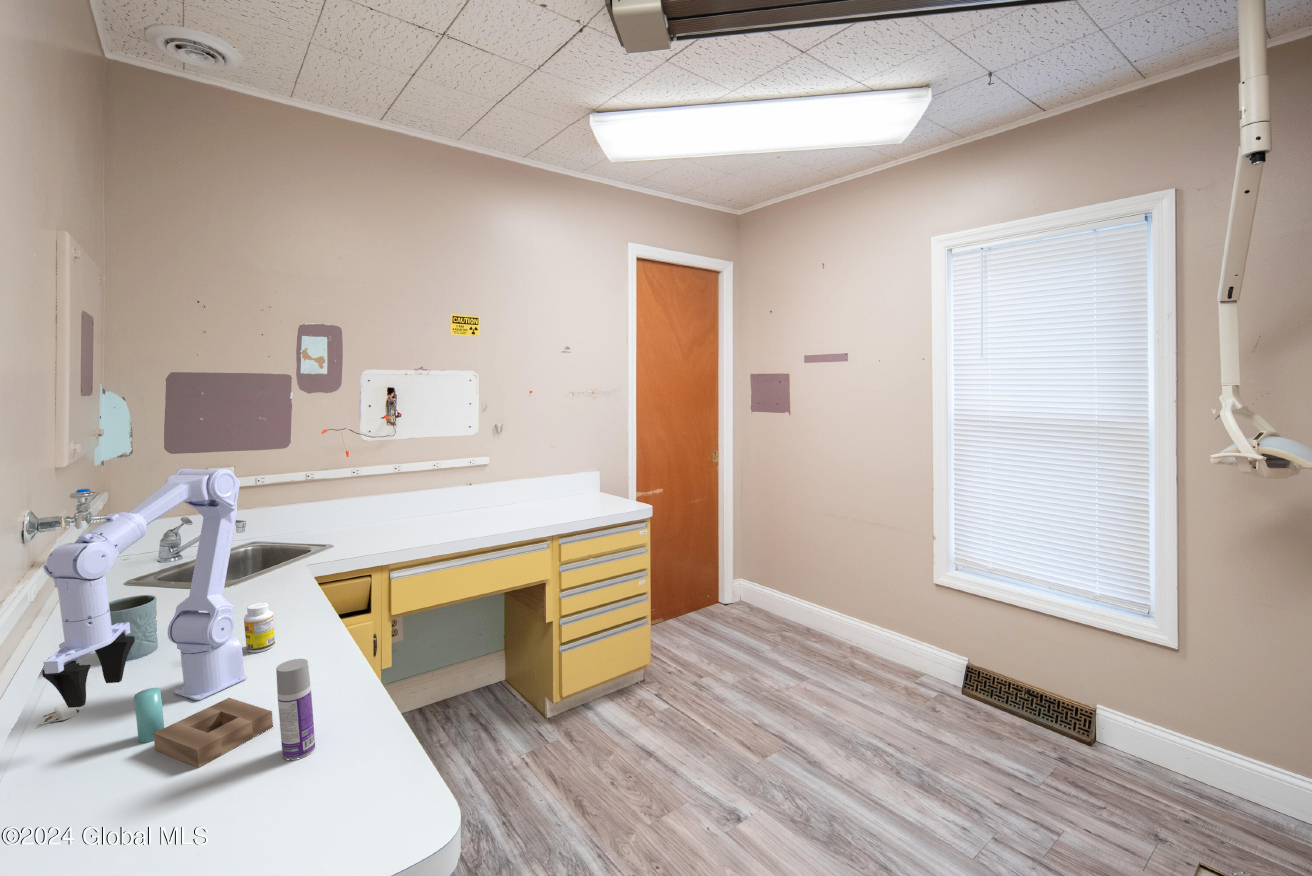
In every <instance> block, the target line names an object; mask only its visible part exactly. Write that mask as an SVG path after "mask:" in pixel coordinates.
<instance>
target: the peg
mask: <svg viewBox="0 0 1312 876" xmlns="http://www.w3.org/2000/svg"><path fill="white" fill-rule="evenodd" d="M133 701H134V710H135V711H134V712H135V718H136V719H135V720H136V721H135V722H136V730H137V736H138V737H137V739H138V743H141V744H146V743H151V742H154V733H155V732H157V731H159V730H161V729H163V728H165V722H164V721H165V720H164V711H163V701H162V692H161V688H159V687H150V688H146V689H143V690H141V691H138V692H137V693H135V694H134V695H133Z"/></svg>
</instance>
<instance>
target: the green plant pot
mask: <svg viewBox="0 0 1312 876" xmlns="http://www.w3.org/2000/svg"><path fill="white" fill-rule="evenodd" d="M109 608H110V617H111V625H115V624H117V623H128V622H129V624H130V633H129V634H127V635H125V636H134V638H135V642H134V644H133V645H132V647H131V649H130V651H129V654H128V656H127V659H126V662H129V660H130V661H134V660H138V659H141V658H144V657H146V656H149V655H151V654H153V653H154V652H155V651H157V649H158V648H159V647H158V646H159V645H158V644H159V643H158V632H157V631H158V623H157V622H158V621H157V619H156V618H157V615H158V614H157V613H158V611H157V596H155V595H151V594H140V595H133V596H128V597H122V598H117V599H115V600H112V601H109Z"/></svg>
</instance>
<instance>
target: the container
mask: <svg viewBox="0 0 1312 876" xmlns="http://www.w3.org/2000/svg"><path fill="white" fill-rule="evenodd" d="M275 670H276V689H277V706H278V717H279V728H280V740H281V741H280V742H281V751H282V753H281V754H282V758H283V759H284V758H285V759H289V760H288V761H293V760H292V759H297V758H301V759H303V758H302V757H304V756H306V755H308V754H309V755H310V753H311V752H312V751H313V752H314V751H315V750H316V739H315V738H316V737H315V736H316V734H315V726H314V725H315V724H314V710H313V709H314V708H313V700H312V699H313V697H312V686H311V677H310V669H309V660H307V659H305V658H293V659H289V660H287V661H284V662H282V663H280V664H278V665H277V667H276V669H275ZM313 752H312V753H313ZM312 753H311V754H312ZM309 755H308V756H309ZM306 757H307V756H306ZM304 758H305V757H304ZM285 759H284V760H285ZM297 760H298V759H297Z"/></svg>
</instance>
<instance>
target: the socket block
mask: <svg viewBox="0 0 1312 876" xmlns="http://www.w3.org/2000/svg"><path fill="white" fill-rule="evenodd" d="M273 721H274V720H273V711H272V710H270V709H266V708H263V707H260V706H257V705H254V704H250V703H248V702H245V701H242V700H239V699H235V698H232V697H227V698H226V699H223V700H221V701H219V702H217V703H215V704H213V705H210V706H209V707H206V708H203V709H201V710H199V711H197V712H196V713H193V714H191V715H189V716H187V717H185V718H182V719H181V720H178V721H176V722H175V723H172V724H170V725H168V726H164V728H163V729H161V730H159V731H157V732H155V733H154V741H153V743H154V750H155V751H156V752H159V753H162V754H164V755H166V756H169V757H172V758H174V759H177V760H179V761H182V762H184V763H186V764H189V765H192V766H193V767H196V768H201V767H203V766H205V765H207V764H209V763H211V762H212V761H214V760H216V759H218V758H219V757H221V755H222V754H223V755H225V754H227V753H229V752H230V750H231V749H232V750H234V749H235V748H234V747H236V748H238V747H239V746H238V745H240V744H242V743H243V744H245V743H247V742H248V740H249V741H251V740H253V739H254V738H256V737H258V736H259V735H258V734H260V733H262V732H264V731H265V732H267V731H269V730H270V729H269V728H271V729H272V727H273V728H274V722H273ZM268 729H269V730H268ZM266 730H267V731H266ZM265 732H264V733H265ZM262 734H263V733H262ZM257 735H258V736H257ZM260 735H261V734H260ZM253 737H254V738H253ZM252 738H253V739H252ZM250 739H251V740H250ZM246 741H247V742H246ZM244 742H245V743H244ZM243 744H242V745H243ZM237 746H238V747H237ZM240 746H241V745H240ZM233 748H234V749H233ZM232 750H231V751H232ZM228 751H229V752H228ZM226 752H227V753H226ZM223 755H222V756H223Z"/></svg>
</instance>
